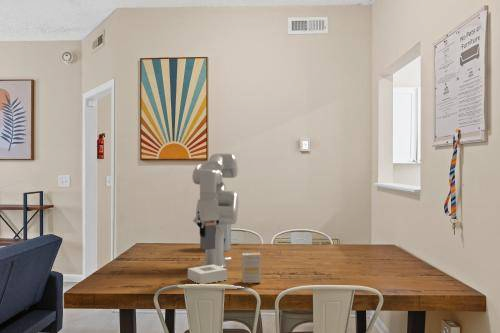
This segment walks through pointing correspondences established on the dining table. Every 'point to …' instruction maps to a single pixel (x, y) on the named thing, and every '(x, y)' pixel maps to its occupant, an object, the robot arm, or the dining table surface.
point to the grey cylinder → (208, 236)
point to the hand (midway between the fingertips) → (207, 235)
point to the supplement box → (251, 268)
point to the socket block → (207, 274)
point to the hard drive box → (226, 236)
